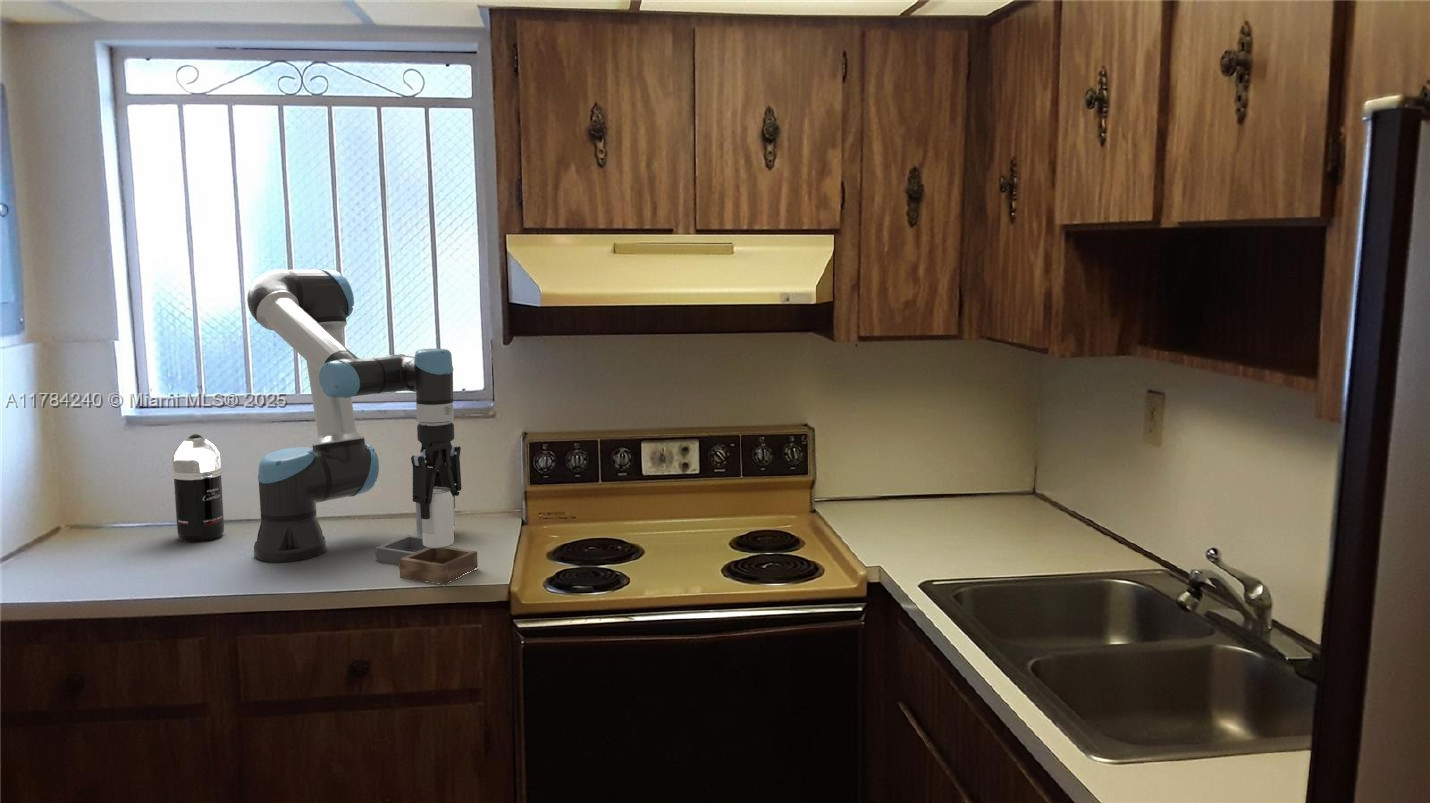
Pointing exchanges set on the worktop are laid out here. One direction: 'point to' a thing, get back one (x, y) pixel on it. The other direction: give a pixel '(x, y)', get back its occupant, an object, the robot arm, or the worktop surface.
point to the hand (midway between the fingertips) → (438, 528)
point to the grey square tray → (399, 549)
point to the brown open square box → (438, 564)
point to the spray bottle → (198, 490)
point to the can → (441, 520)
